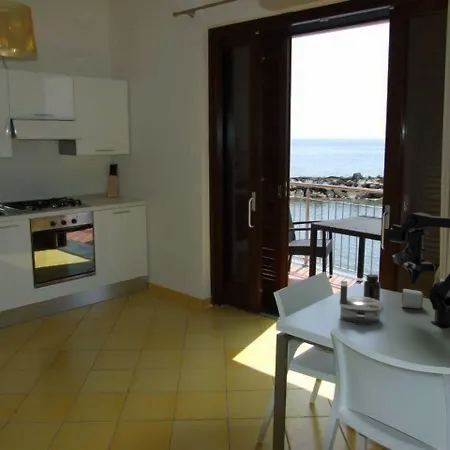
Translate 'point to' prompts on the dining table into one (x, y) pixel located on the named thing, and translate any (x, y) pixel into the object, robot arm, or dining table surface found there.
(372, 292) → the supplement bottle
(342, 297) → the grey disc with post
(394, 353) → the dining table surface
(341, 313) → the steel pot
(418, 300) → the grey rounded block
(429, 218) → the robot arm
